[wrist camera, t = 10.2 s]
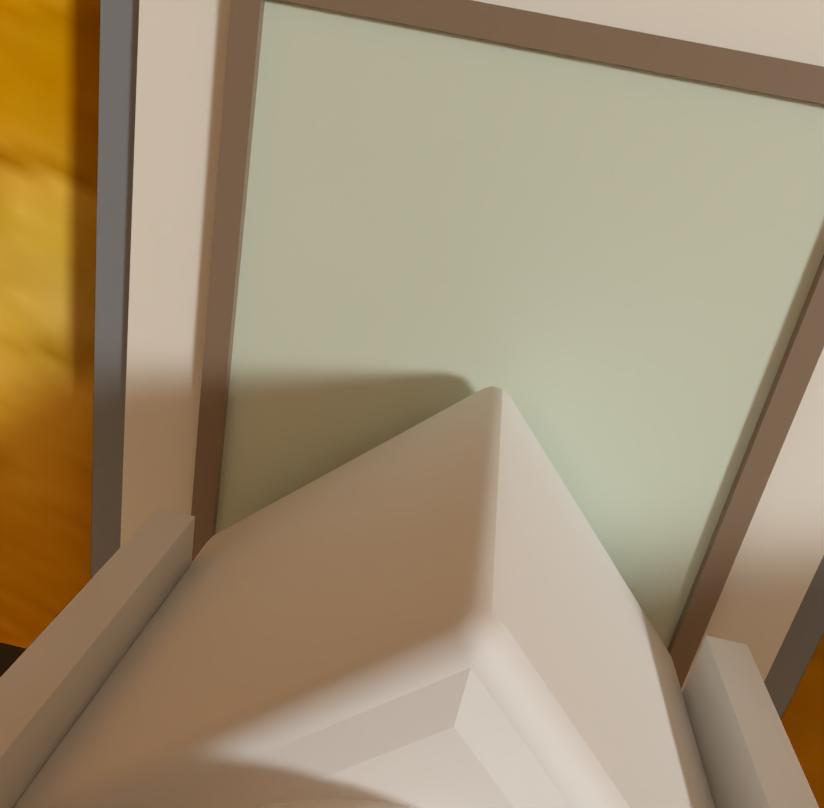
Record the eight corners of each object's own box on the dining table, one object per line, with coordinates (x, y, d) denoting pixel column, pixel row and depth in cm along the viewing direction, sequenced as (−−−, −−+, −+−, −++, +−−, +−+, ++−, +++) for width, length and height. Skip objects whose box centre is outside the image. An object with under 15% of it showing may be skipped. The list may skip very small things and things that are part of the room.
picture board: (107, 687, 20) (77, 729, 18) (136, -223, 12) (87, -267, 11) (697, 832, 19) (711, 889, 18) (1115, -51, 11) (1197, -74, 10)
